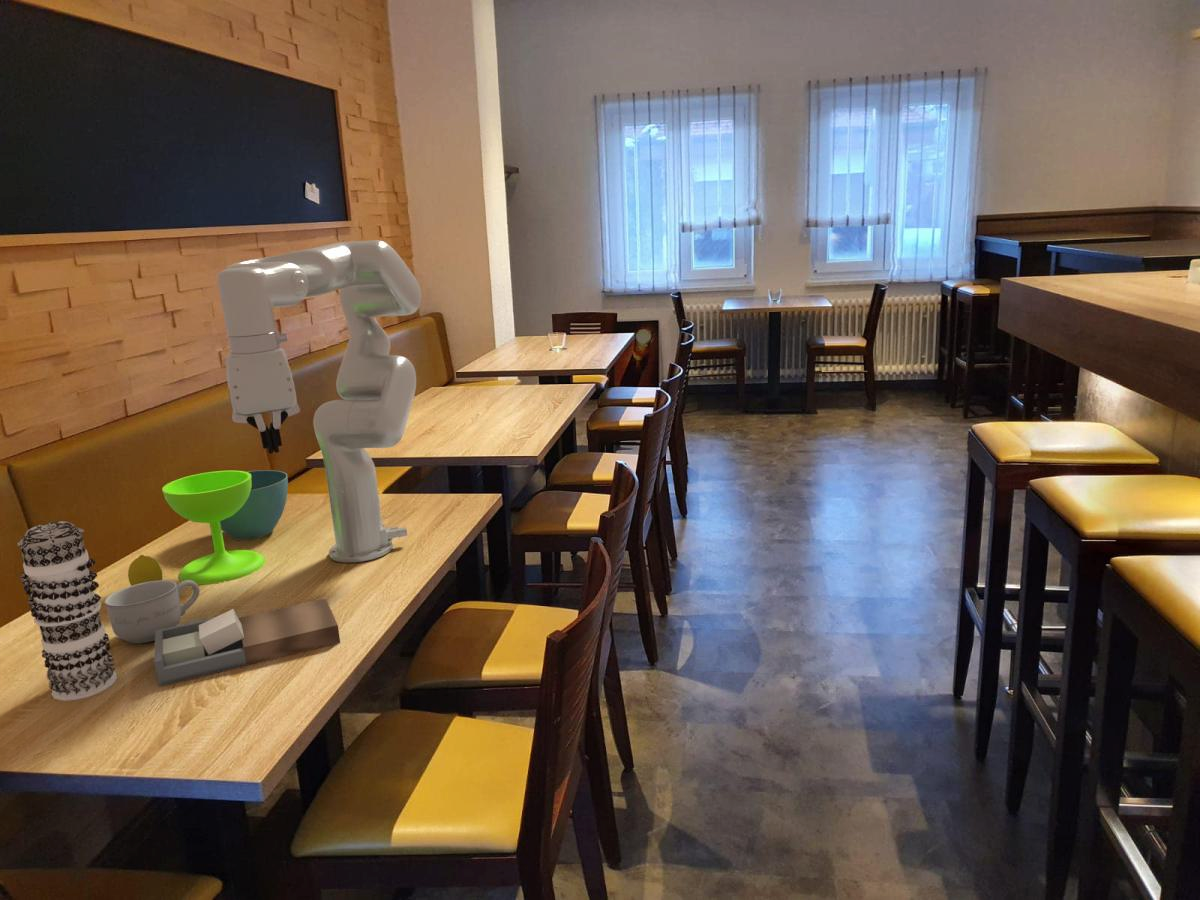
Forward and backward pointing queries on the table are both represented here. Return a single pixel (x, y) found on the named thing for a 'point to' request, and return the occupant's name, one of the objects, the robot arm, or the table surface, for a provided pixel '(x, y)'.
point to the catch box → (198, 667)
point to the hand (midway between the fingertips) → (273, 451)
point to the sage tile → (182, 648)
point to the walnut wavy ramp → (288, 631)
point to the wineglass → (214, 522)
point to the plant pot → (259, 506)
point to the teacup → (147, 608)
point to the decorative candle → (66, 610)
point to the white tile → (220, 631)
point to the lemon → (144, 570)
